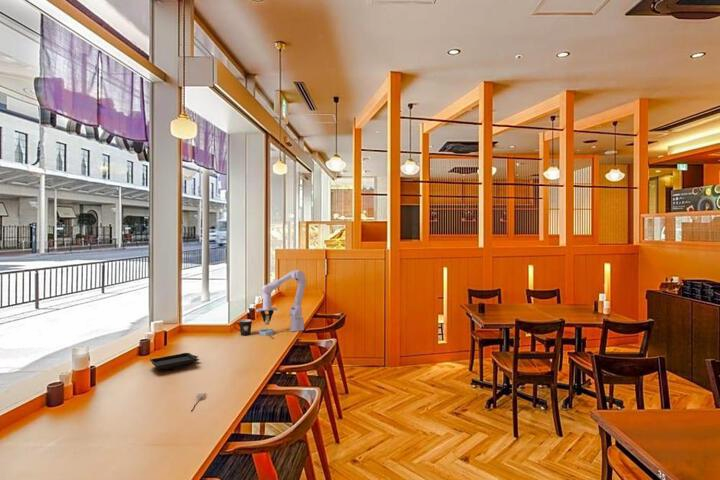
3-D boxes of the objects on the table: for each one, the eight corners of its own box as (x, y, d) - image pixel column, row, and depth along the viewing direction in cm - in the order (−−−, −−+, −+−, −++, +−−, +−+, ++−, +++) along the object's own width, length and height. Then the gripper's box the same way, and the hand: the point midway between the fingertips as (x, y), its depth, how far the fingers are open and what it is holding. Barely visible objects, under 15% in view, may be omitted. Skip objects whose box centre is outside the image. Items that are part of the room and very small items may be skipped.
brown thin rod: (268, 335, 292) (268, 334, 292) (269, 335, 292) (269, 334, 292) (272, 339, 283) (272, 337, 283) (274, 338, 283) (274, 337, 283)
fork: (184, 419, 170) (183, 413, 169) (201, 393, 190) (201, 388, 190) (191, 419, 170) (191, 413, 169) (207, 393, 190) (207, 388, 190)
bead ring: (271, 331, 304) (271, 328, 304) (275, 334, 295) (275, 331, 295) (257, 333, 299) (257, 329, 299) (261, 336, 290) (261, 332, 290)
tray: (171, 357, 243) (170, 348, 243) (209, 358, 241) (209, 349, 241) (138, 375, 213) (138, 365, 213) (182, 377, 211) (182, 366, 211)
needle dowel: (268, 323, 299) (268, 313, 298) (269, 324, 296) (270, 314, 296) (264, 324, 297) (264, 314, 297) (265, 324, 294) (265, 315, 294)
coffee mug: (253, 333, 298) (253, 319, 297) (249, 336, 289) (249, 322, 289) (237, 332, 299) (237, 319, 299) (233, 336, 290) (233, 321, 290)
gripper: (275, 300, 303) (275, 319, 304) (255, 302, 296) (255, 321, 296) (278, 302, 297) (278, 321, 297) (258, 303, 290) (257, 323, 290)
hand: (266, 321), depth 297 cm, fingers closed on needle dowel, 3 cm apart
